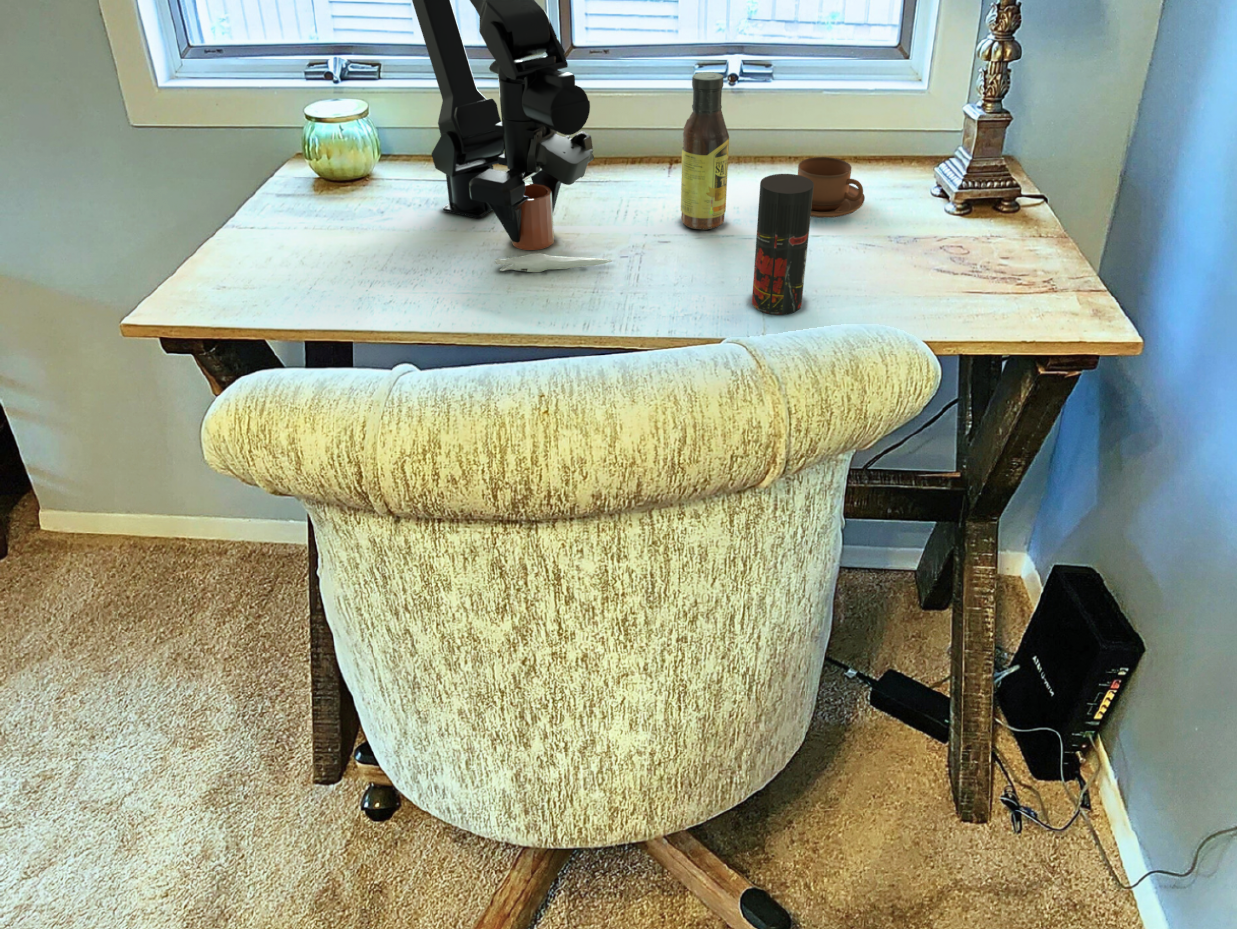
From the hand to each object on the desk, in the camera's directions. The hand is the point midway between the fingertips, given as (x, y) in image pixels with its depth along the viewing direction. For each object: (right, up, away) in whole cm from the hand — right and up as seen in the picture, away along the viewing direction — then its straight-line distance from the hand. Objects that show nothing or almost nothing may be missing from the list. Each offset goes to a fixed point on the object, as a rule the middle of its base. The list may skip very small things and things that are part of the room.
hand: (532, 230), depth 138 cm
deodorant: (+31, -12, -14) cm, 36 cm away
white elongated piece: (+3, -6, -6) cm, 9 cm away
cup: (0, -1, +1) cm, 2 cm away
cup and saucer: (+41, +5, +9) cm, 42 cm away
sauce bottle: (+23, +2, +5) cm, 24 cm away
